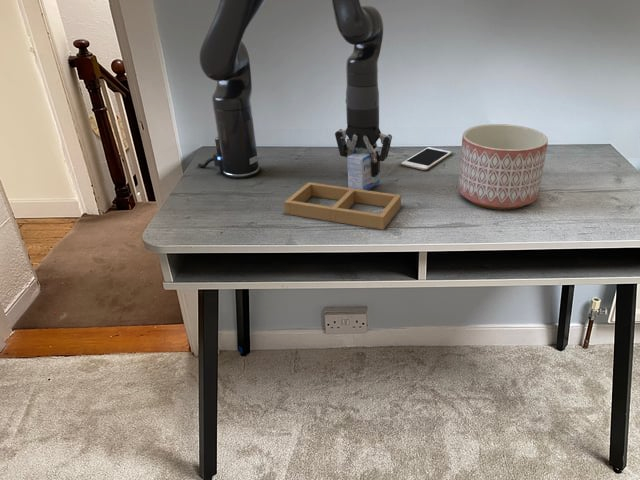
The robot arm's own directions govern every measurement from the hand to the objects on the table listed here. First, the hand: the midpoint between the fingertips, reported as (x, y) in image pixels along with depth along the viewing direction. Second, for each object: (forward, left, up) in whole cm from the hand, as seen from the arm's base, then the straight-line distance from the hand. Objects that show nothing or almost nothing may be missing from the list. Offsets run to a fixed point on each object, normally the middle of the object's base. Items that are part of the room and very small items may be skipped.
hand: (363, 174), depth 135 cm
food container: (-5, +13, -4) cm, 15 cm away
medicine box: (0, 0, -3) cm, 3 cm away
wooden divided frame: (0, -13, -4) cm, 14 cm away
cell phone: (+9, +26, -4) cm, 28 cm away
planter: (+32, +7, -4) cm, 33 cm away
